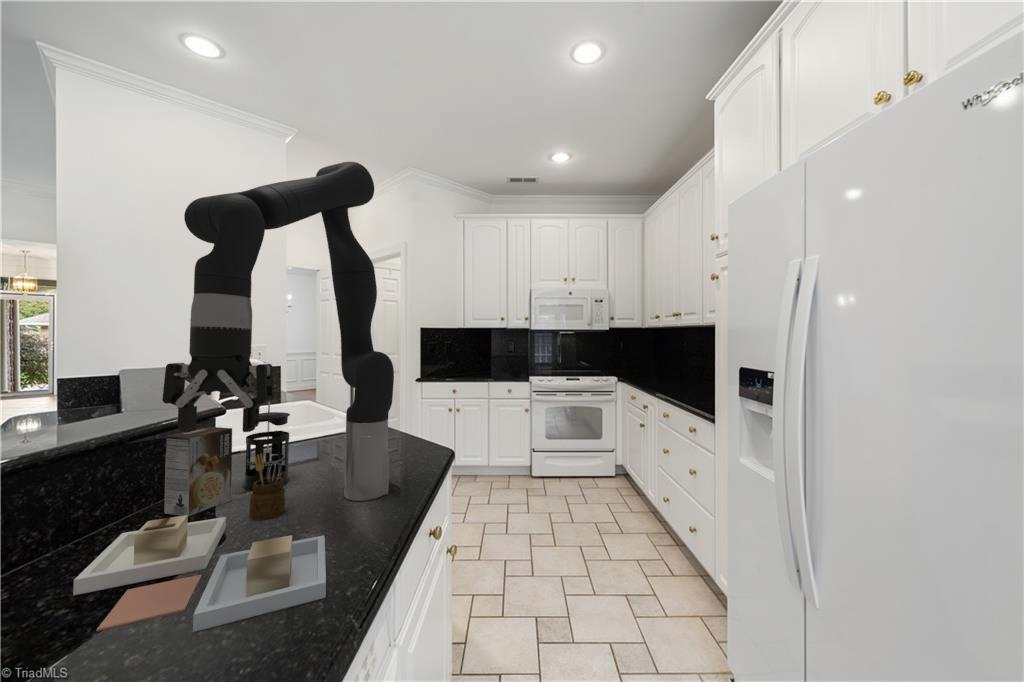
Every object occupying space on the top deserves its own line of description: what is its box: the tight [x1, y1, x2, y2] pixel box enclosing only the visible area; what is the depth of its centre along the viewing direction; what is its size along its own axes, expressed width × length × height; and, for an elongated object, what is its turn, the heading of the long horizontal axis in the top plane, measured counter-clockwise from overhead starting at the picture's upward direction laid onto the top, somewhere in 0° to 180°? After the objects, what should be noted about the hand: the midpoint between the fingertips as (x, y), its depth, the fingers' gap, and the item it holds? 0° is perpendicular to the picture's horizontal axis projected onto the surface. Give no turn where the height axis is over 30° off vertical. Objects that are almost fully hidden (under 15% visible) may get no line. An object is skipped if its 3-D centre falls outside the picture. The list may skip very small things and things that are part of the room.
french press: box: [242, 389, 291, 492], centre depth 93 cm, size 12×9×23 cm
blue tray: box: [192, 535, 327, 633], centre depth 54 cm, size 14×14×3 cm
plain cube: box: [246, 535, 293, 597], centre depth 54 cm, size 5×5×5 cm
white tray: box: [72, 516, 227, 596], centre depth 60 cm, size 14×14×3 cm
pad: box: [96, 574, 203, 632], centre depth 49 cm, size 8×8×1 cm
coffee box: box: [163, 426, 233, 517], centre depth 78 cm, size 9×6×16 cm
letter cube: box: [134, 515, 189, 565], centre depth 60 cm, size 5×5×5 cm
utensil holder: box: [249, 454, 286, 521], centre depth 75 cm, size 6×6×12 cm
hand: (218, 431), depth 58 cm, fingers open, 8 cm apart
